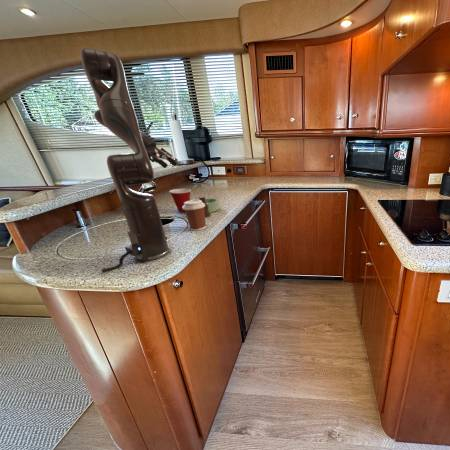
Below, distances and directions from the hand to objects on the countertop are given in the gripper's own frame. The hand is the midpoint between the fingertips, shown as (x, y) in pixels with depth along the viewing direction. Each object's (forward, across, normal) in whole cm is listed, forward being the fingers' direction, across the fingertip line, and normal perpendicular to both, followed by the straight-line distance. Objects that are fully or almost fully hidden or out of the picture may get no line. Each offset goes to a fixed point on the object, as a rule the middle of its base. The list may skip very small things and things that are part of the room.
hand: (171, 165), depth 113 cm
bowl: (+24, +10, +12) cm, 29 cm away
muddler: (+27, 0, +10) cm, 28 cm away
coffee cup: (+30, -17, +7) cm, 35 cm away
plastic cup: (+15, +12, +22) cm, 29 cm away
